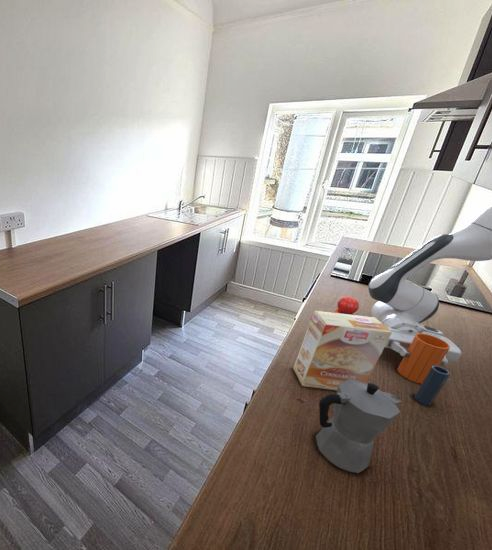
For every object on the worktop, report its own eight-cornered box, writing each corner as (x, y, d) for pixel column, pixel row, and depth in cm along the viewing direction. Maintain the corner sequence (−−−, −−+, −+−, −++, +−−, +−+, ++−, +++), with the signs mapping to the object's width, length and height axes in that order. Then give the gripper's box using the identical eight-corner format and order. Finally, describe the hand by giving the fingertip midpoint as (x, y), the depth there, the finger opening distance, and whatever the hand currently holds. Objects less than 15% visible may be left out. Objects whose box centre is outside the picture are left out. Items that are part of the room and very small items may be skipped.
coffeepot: (353, 431, 66) (385, 367, 59) (389, 474, 57) (432, 405, 50) (287, 431, 65) (311, 367, 58) (314, 475, 56) (347, 406, 49)
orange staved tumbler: (435, 382, 82) (456, 347, 77) (416, 385, 81) (437, 349, 76) (409, 366, 88) (427, 332, 83) (391, 368, 87) (409, 334, 82)
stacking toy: (309, 344, 96) (328, 292, 88) (326, 339, 98) (346, 289, 91) (332, 359, 89) (354, 305, 82) (350, 354, 92) (373, 301, 84)
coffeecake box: (302, 386, 78) (325, 324, 70) (291, 368, 84) (312, 309, 77) (362, 395, 76) (394, 331, 68) (347, 375, 83) (374, 316, 75)
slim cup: (434, 404, 75) (453, 373, 71) (424, 406, 74) (443, 375, 70) (420, 395, 77) (438, 364, 73) (410, 396, 77) (428, 366, 73)
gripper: (367, 316, 95) (384, 339, 83) (447, 332, 89) (478, 359, 77) (359, 332, 97) (375, 357, 86) (437, 349, 91) (466, 378, 79)
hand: (425, 358), depth 81 cm, fingers closed on orange staved tumbler, 7 cm apart
